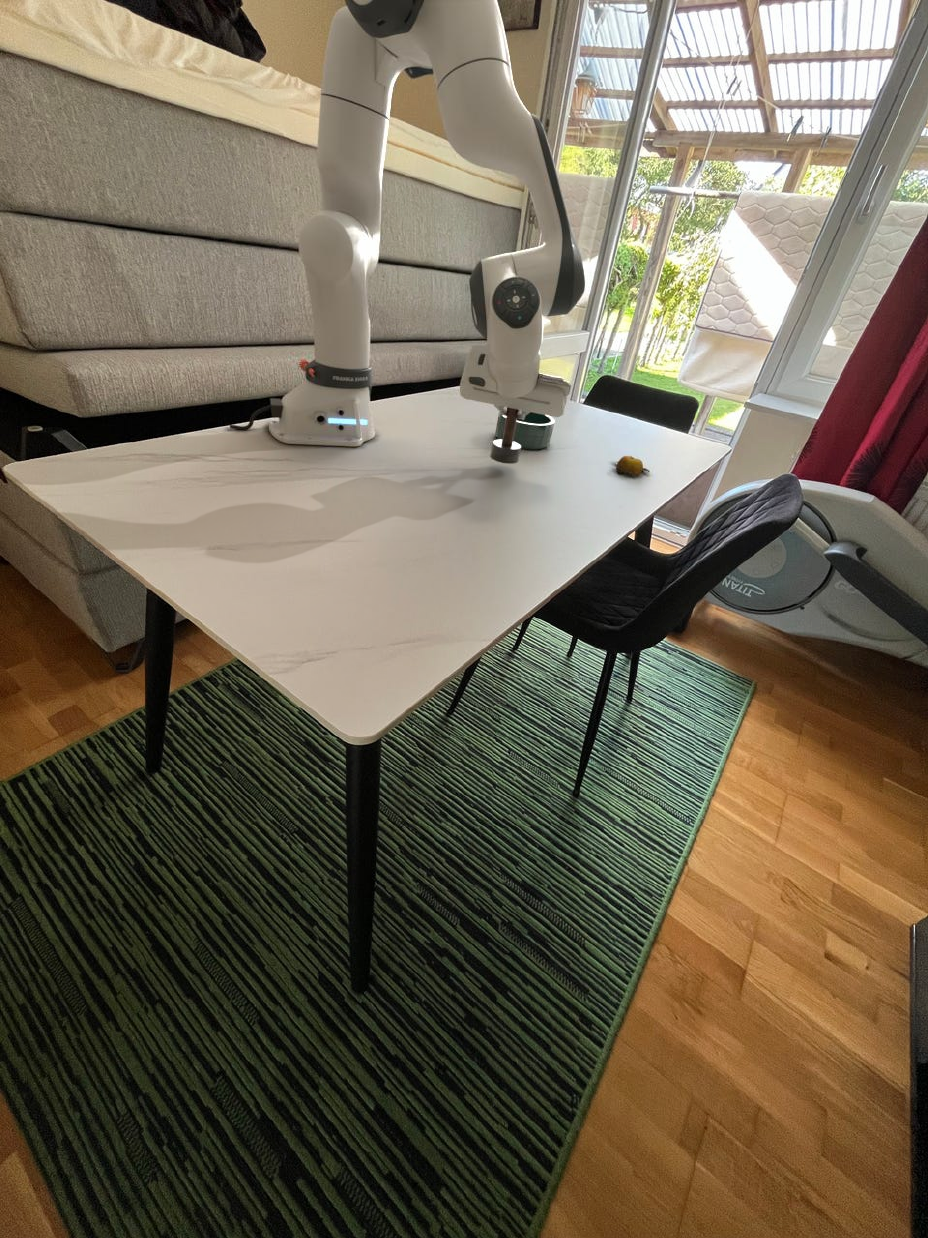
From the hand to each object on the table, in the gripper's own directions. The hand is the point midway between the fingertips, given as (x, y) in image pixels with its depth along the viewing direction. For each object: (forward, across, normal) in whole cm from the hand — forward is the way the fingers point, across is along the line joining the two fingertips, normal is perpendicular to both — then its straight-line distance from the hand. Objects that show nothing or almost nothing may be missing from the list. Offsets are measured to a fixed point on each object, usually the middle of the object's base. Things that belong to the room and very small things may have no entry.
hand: (512, 414), depth 104 cm
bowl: (+24, -1, -8) cm, 25 cm away
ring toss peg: (+6, 0, +7) cm, 9 cm away
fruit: (+20, -28, -4) cm, 35 cm away
